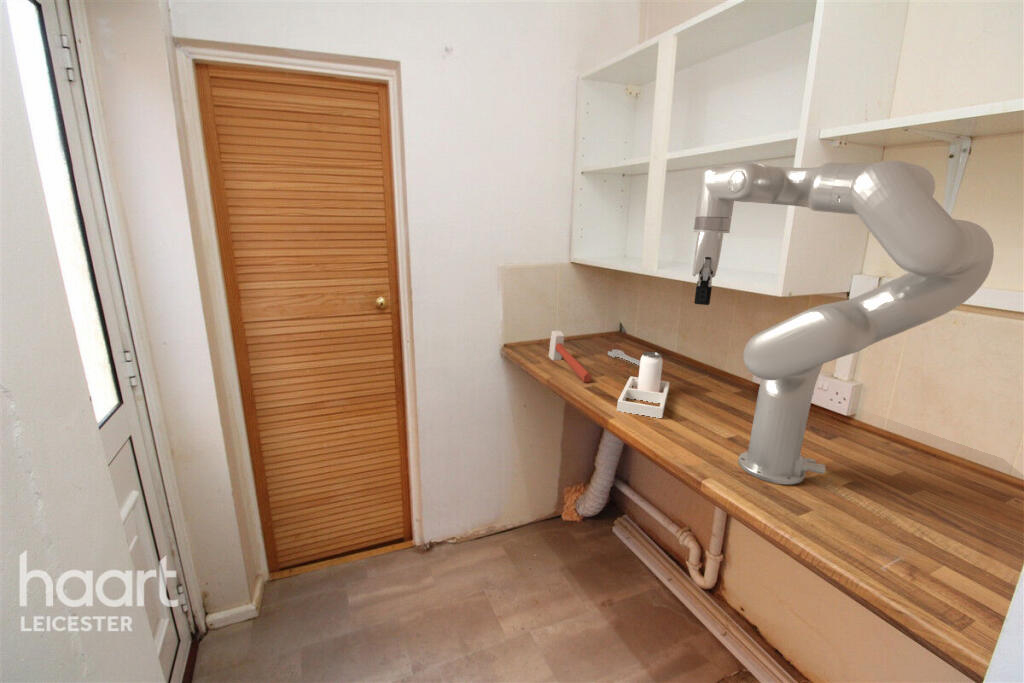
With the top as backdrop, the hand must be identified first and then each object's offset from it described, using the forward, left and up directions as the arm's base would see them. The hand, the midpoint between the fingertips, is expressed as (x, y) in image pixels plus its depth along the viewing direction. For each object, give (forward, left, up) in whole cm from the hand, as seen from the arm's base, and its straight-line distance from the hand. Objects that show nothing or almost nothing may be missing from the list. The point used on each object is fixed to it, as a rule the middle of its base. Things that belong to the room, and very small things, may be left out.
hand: (702, 301), depth 109 cm
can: (+12, -24, -33) cm, 43 cm away
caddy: (+12, -16, -33) cm, 39 cm away
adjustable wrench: (+22, -54, -34) cm, 67 cm away
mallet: (+40, -35, -34) cm, 63 cm away
